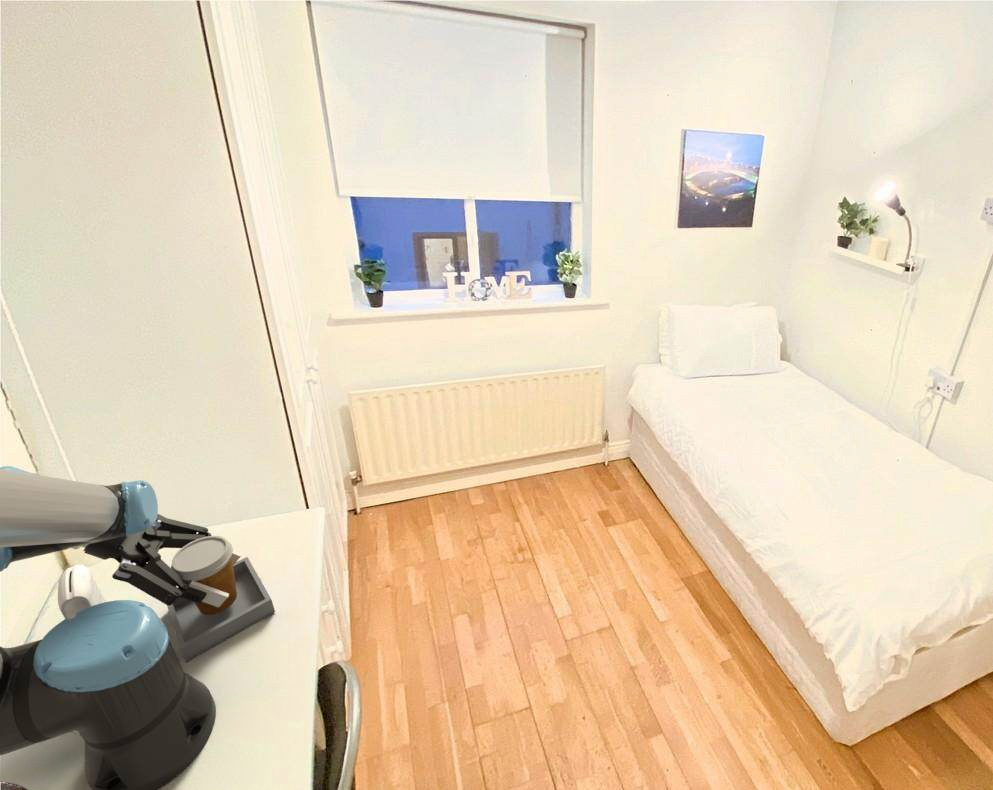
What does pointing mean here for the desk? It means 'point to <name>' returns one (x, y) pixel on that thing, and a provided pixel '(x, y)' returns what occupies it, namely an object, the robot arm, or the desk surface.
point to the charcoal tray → (221, 614)
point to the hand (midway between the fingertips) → (230, 579)
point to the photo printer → (77, 591)
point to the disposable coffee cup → (208, 568)
